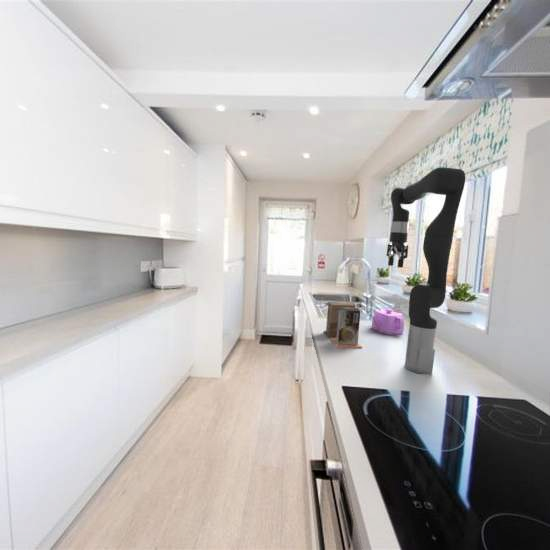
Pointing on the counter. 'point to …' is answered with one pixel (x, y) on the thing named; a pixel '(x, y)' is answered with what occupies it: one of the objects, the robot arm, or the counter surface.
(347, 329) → the coffee box
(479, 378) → the counter surface
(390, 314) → the teakettle
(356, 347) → the terracotta pad
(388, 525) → the counter surface
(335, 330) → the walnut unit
